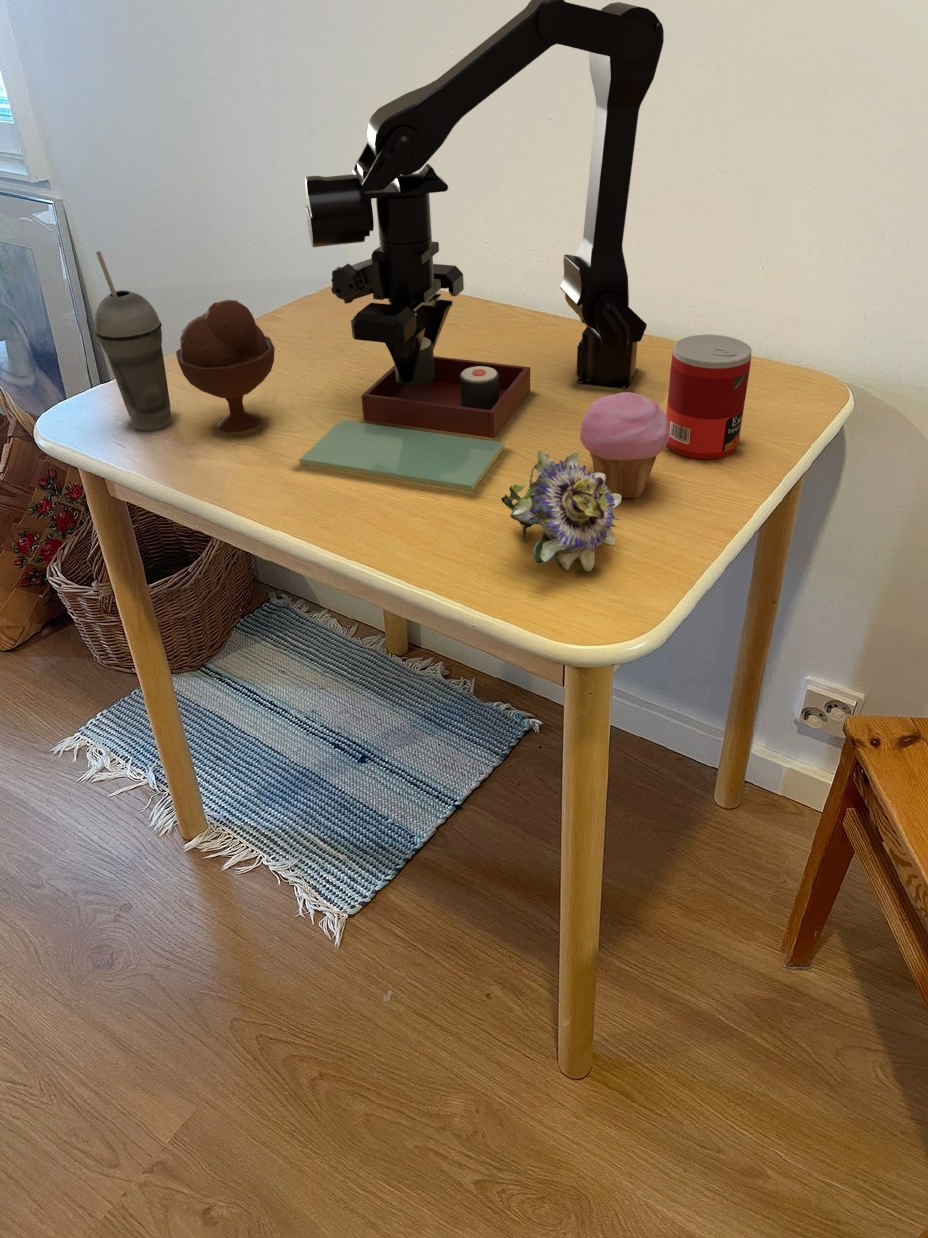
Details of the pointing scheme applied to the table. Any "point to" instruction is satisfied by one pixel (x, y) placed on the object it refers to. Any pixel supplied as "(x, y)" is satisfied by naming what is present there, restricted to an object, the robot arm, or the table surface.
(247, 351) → the ice cream bowl
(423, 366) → the cylinder
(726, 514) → the table surface
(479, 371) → the cylinder
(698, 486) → the table surface
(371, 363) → the table surface
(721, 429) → the canned food
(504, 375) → the sushi box
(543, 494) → the passion flower
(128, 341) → the beverage cup
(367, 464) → the plate
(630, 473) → the cupcake
